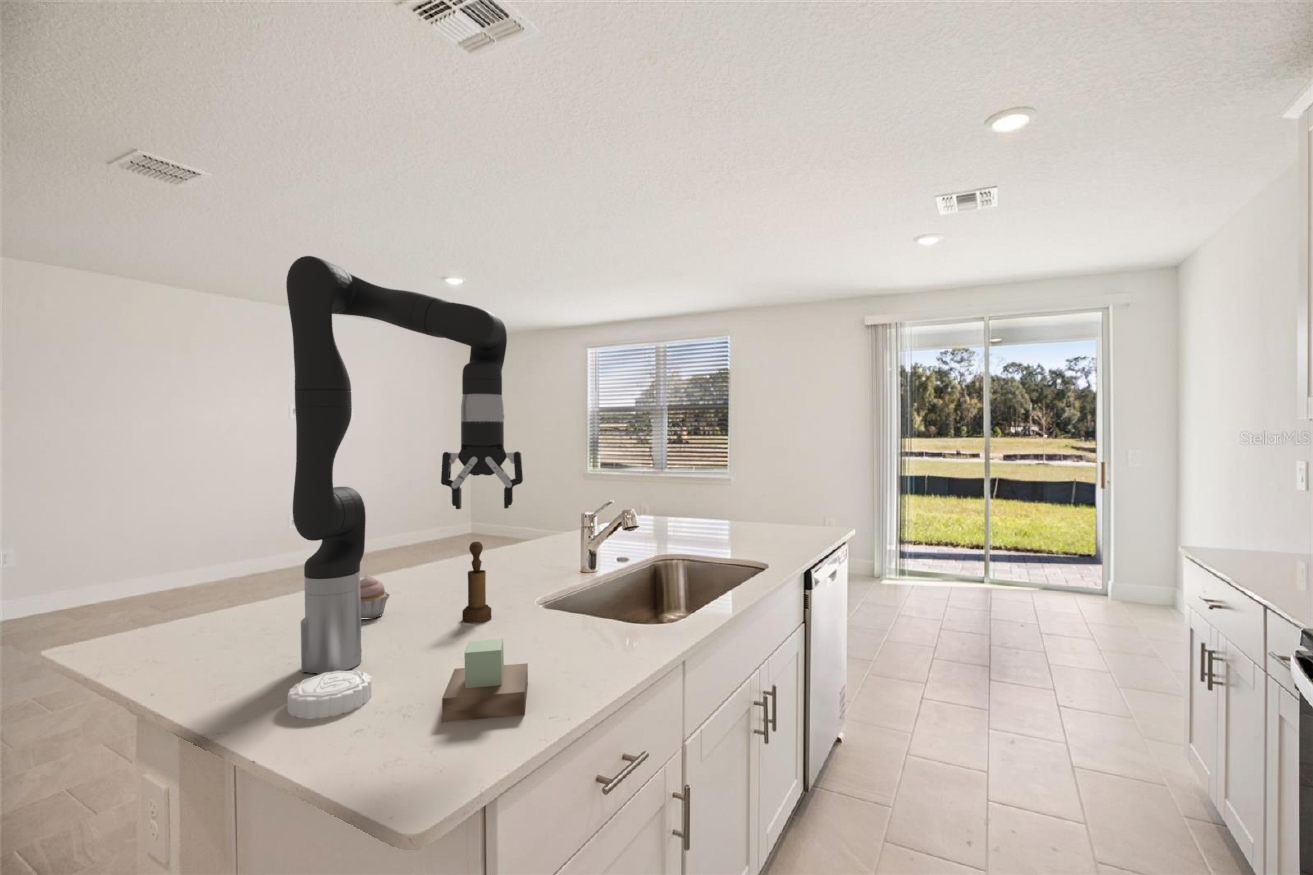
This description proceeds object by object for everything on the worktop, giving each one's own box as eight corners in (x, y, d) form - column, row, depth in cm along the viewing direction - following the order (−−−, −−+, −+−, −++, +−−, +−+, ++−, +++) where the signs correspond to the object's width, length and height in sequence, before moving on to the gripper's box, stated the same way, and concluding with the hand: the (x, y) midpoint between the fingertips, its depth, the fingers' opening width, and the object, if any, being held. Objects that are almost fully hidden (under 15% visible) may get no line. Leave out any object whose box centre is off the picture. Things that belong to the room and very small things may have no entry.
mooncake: (365, 714, 96) (365, 691, 96) (277, 725, 92) (277, 701, 92) (377, 684, 107) (376, 664, 107) (299, 693, 104) (298, 672, 104)
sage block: (465, 688, 96) (464, 652, 96) (469, 674, 101) (468, 641, 101) (501, 685, 97) (501, 649, 97) (503, 672, 102) (503, 638, 102)
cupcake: (376, 608, 154) (375, 568, 154) (397, 614, 149) (396, 573, 149) (338, 618, 146) (338, 576, 146) (359, 624, 141) (359, 581, 141)
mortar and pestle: (497, 617, 145) (496, 541, 145) (476, 625, 140) (474, 545, 139) (478, 613, 149) (477, 538, 148) (456, 620, 143) (455, 542, 143)
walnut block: (442, 725, 92) (442, 698, 92) (454, 692, 104) (454, 668, 104) (524, 718, 94) (524, 691, 94) (527, 686, 106) (527, 663, 106)
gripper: (437, 419, 108) (438, 511, 108) (521, 419, 110) (521, 510, 111) (445, 420, 116) (446, 506, 116) (523, 420, 118) (523, 505, 118)
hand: (482, 508), depth 113 cm, fingers open, 8 cm apart
